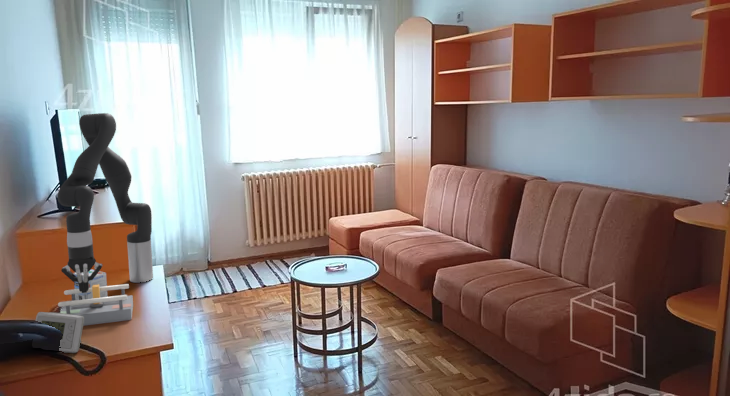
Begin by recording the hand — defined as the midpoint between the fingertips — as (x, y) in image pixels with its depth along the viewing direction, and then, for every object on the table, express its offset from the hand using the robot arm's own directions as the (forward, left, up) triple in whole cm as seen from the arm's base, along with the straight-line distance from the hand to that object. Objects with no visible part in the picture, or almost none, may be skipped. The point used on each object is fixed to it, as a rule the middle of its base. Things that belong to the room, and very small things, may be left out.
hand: (84, 292), depth 179 cm
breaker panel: (0, +4, -9) cm, 10 cm away
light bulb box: (-19, 0, -10) cm, 21 cm away
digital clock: (+23, -5, -10) cm, 26 cm away
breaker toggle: (0, +4, -5) cm, 6 cm away
